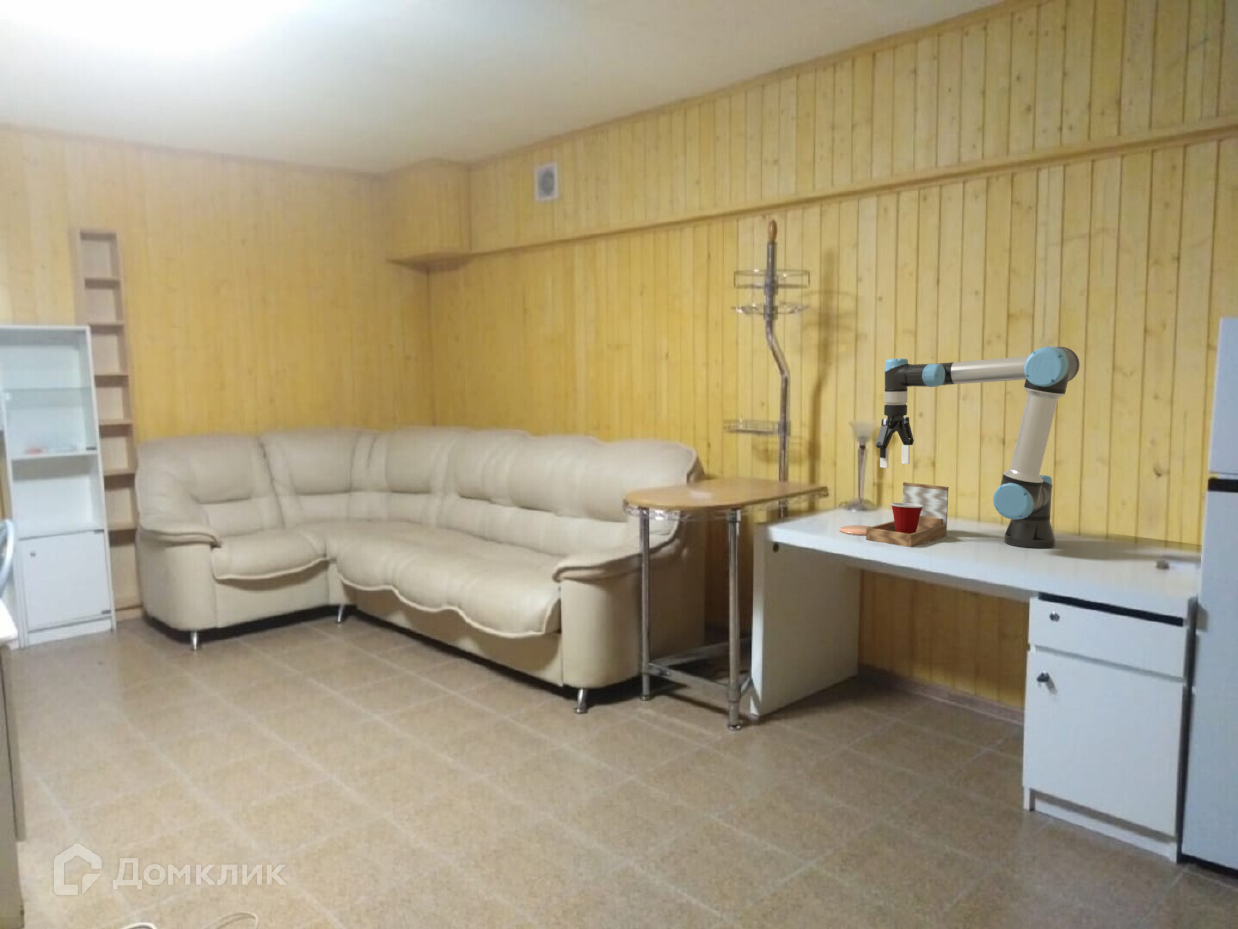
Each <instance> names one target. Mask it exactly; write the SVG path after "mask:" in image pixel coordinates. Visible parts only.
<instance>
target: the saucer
mask: <svg viewBox="0 0 1238 929" xmlns="http://www.w3.org/2000/svg"><path fill="white" fill-rule="evenodd" d="M869 527H872V526H871V525H870V526H869V525H862V524H861V525H860V524H859V525H858V524H857V525H856V524H855V525H854V524H853V525H843V526H841V527H840V528H839V532H841V533H842V534H845V535H850V534H852V535H851V536H865V537H866V528H869Z"/></svg>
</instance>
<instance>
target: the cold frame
mask: <svg viewBox="0 0 1238 929" xmlns="http://www.w3.org/2000/svg"><path fill="white" fill-rule="evenodd" d="M902 503H911V504H919V505H923V506H924V507H923V508H922V511H921V514H920V517H919V522H918V526H917V530H916V532H915V533H911V534H907V533H900V532H896V528H895V523H894V520H892V521H888V522H885V523H880V524H877V525H873V526H871V527H869V528H866V536H865V540H866V541H872V542H877V543H883V544H890V545H897V546H903V547H909V548H912V546H913V547H915V546H919V545H922V544H925V542H926V543H928V541H929V542H931V540H932V541H935V540H938V539H942V538H945V537H947V536H948V533H947V532H948V513H949V512H948V508H949V507H948V506H949V486H942V485H931V484H923V483H914V482H905V481H904V482H902Z"/></svg>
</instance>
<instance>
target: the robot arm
mask: <svg viewBox="0 0 1238 929" xmlns="http://www.w3.org/2000/svg"><path fill="white" fill-rule="evenodd" d="M1080 364H1081V363H1080V358H1079V357H1078V354H1077V353H1076V352H1075V351H1073V350H1072V349H1071V348H1069V347H1066V346H1065V347H1064V346H1050V345H1049V346H1043V347H1040V348H1038V349H1036V350H1034V351H1033V352H1031V353H1030V354H1029V355H1025V356H1014V357H1000V358H999V357H998V358H990V359H977V360H965V361H964V360H963V361H953V362H941V363H940V362H939V363H918V364H917V363H916V364H915V363H914V364H912V363H911V364H910V363H909V360H908V358H887V359H886V360H885V363H884V372H883V373H884V394H883V395H884V403H885V405H884V408H883V410H884V411H883V416H886V417H887V418H882V419H881V424H880V429H879V432H878V436H877V440H876V443H875V446H876V448H877V449H879V467H880V468H883V469H885V468H886V469H888V468H889V450H890V449H889V448H888V446H889V443H890V441H891V439H892V438H893V435H894V434H895V433H896V432H897V434H898V436H899V438H900V440H901V442H902V444H901V452H900V453H901V460H900V461H901V462H900V463H901V464H902V465H903V464H904V465H910V457H911V456H910V455H911V454H910V453H911V452H910V451H911V450H910V448H911V446H913V445H914V441H915V440H914V435H913V433H912V428H911V424H910V417H909V416H907V415H908V405H907V403H908V388H909V387H922V388H923V387H924V388H925V387H926V388H927V387H928V388H934V387H941V386H948V385H949V386H950V385H962V384H963V385H964V384H978V383H979V384H980V383H993V382H994V383H995V382H1010V381H1012V382H1013V381H1024V384H1023V389H1024V390H1025V391H1026V394H1027V395H1026V399H1025V405H1024V408H1023V412H1022V416H1021V420H1020V426H1019V429H1018V434H1017V438H1016V440H1015V446H1014V450H1013V454H1012V458H1011V461H1010V462H1011V463H1010V468H1008V469H1007V470H1004V471H1003V473H1002V477H1001V482H1000V484H999V485H1000V486H998V487H997V488H996V489H995V492H994V494H993V498H992V500H993V501H992V502H993V507H994V508H995V509H996V511H997V513H998V514H999V515H1001V516H1002V517H1004V518H1006V519H1009V523H1008V526H1007V528H1006V531H1005V533H1004V538H1003V541H1004V543H1005V544H1007V545H1010V546H1015V547H1021V548H1029V549H1031V548H1032V549H1034V548H1035V549H1046V548H1047V549H1048V548H1052V547H1055V546H1056V537H1055V534H1054V531H1053V530H1054V529H1053V527H1052V524H1051V510H1052V495H1053V494H1052V491H1053V490H1052V489H1053V479H1052V477H1051V476H1050V475H1043V474H1040V472H1041V469H1042V466H1043V461H1044V457H1045V453H1046V449H1047V447H1048V446H1047V444H1048V440H1049V437H1050V433H1051V430H1052V426H1053V421H1054V416H1055V412H1056V408H1057V404H1058V400H1059V399H1060V398H1062V397H1063V396H1065V395H1066V392H1067V391H1066V390H1067V388H1068V384H1069V382H1070V381H1072V380H1073V379H1074V378H1075V377H1076V376H1077V374H1078V372H1079V371H1080V366H1081V365H1080Z"/></svg>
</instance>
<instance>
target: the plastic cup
mask: <svg viewBox="0 0 1238 929" xmlns="http://www.w3.org/2000/svg"><path fill="white" fill-rule="evenodd" d="M889 505H890V506H891V510H892V514H893V521H894V523H895V528H896V532H900V533H907V534H911V533H915V532H916V530H917V526H918V522H919V517H920V514H921V511H922V508H923V507H924V506H923V505H919V504H911V503H903V502H890V504H889Z"/></svg>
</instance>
